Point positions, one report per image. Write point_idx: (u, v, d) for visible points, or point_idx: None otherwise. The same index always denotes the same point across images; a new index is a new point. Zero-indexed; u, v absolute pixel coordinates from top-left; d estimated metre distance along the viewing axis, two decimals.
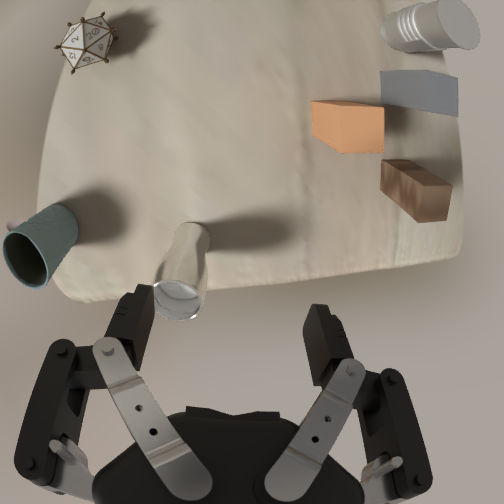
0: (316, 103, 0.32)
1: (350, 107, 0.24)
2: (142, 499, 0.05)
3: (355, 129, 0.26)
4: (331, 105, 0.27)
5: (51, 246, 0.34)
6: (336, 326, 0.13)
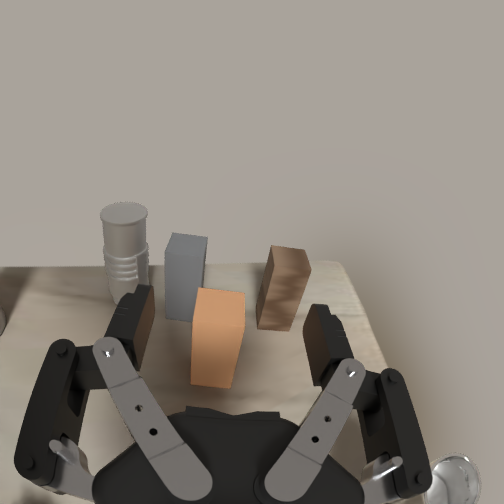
0: (192, 372, 0.31)
1: (195, 312, 0.27)
2: (142, 499, 0.05)
3: (219, 311, 0.28)
4: (193, 338, 0.28)
5: None
6: (336, 326, 0.13)
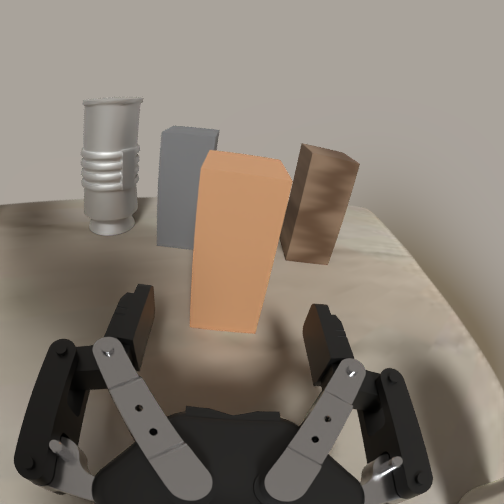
0: (193, 298, 0.19)
1: (206, 163, 0.16)
2: (142, 499, 0.05)
3: (246, 166, 0.16)
4: (198, 214, 0.16)
5: None
6: (336, 326, 0.13)
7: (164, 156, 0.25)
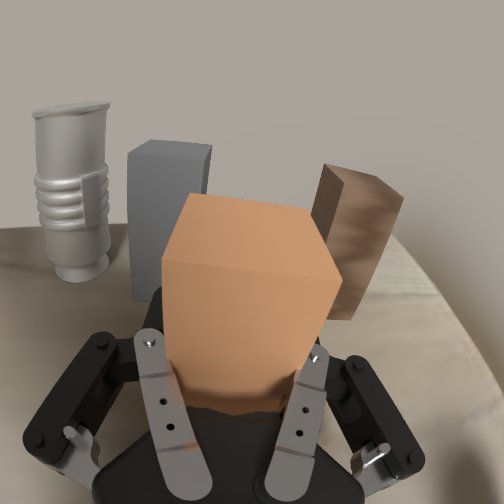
0: None
1: (175, 238, 0.08)
2: (142, 499, 0.05)
3: (252, 240, 0.09)
4: (167, 330, 0.09)
5: None
6: None
7: (133, 187, 0.17)
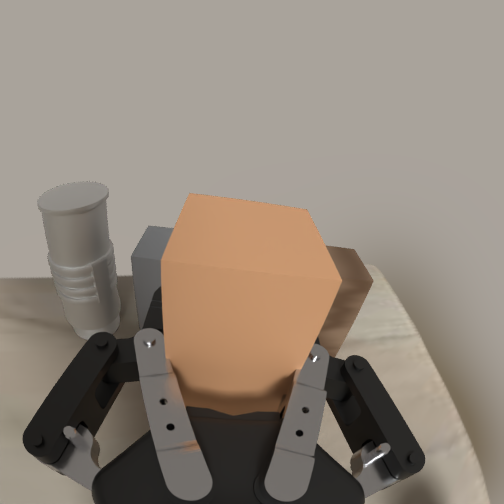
0: None
1: (174, 239, 0.08)
2: (142, 499, 0.05)
3: (252, 240, 0.09)
4: (167, 331, 0.09)
5: None
6: None
7: (138, 281, 0.21)
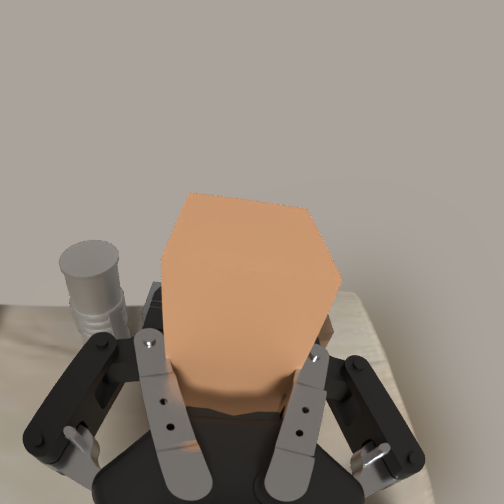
0: None
1: (174, 238, 0.08)
2: (142, 499, 0.05)
3: (252, 239, 0.09)
4: (167, 330, 0.09)
5: None
6: None
7: None
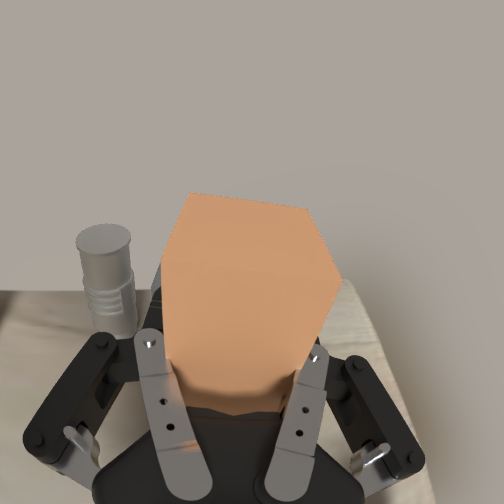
0: None
1: (174, 238, 0.08)
2: (142, 499, 0.05)
3: (252, 239, 0.09)
4: (167, 330, 0.09)
5: None
6: None
7: None
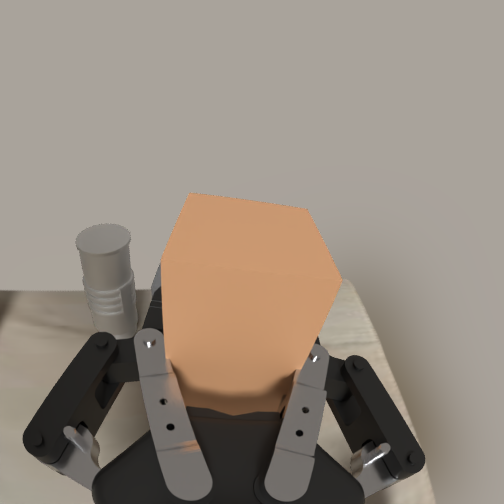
0: None
1: (174, 238, 0.08)
2: (142, 499, 0.05)
3: (252, 239, 0.09)
4: (167, 330, 0.09)
5: None
6: None
7: None
